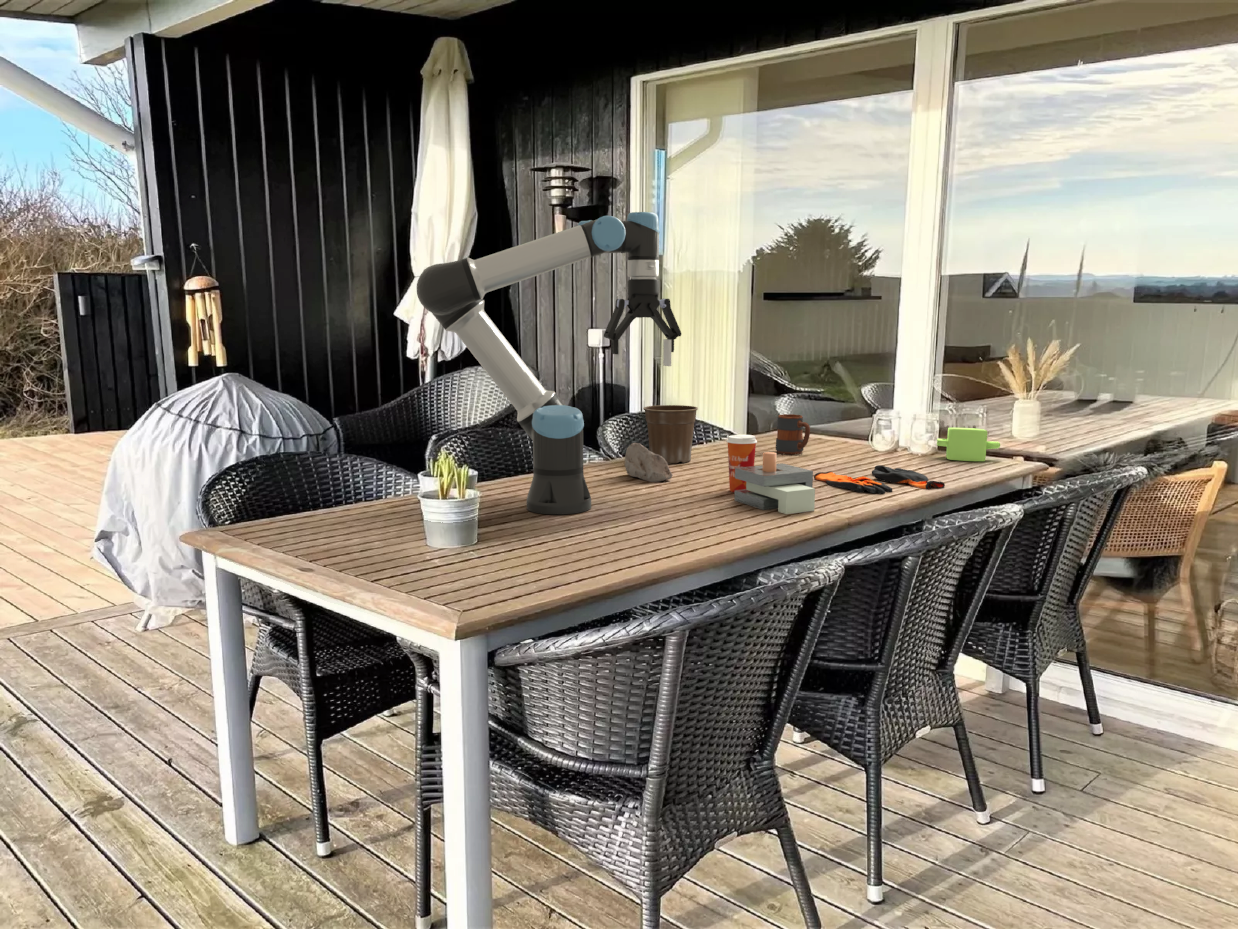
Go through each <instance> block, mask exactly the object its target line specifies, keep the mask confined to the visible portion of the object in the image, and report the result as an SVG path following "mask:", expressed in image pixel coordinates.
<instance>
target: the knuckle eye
mask: <svg viewBox="0 0 1238 929" xmlns="http://www.w3.org/2000/svg"><path fill="white" fill-rule="evenodd" d="M746 490H748V491H752V492H755V493H758V494H761V495H765V496H768V497H771V498H774V499H778V508H777V511H778V512H777V513H780V514H781V513H782V514H784V515H789V514H798V513H805V512H806V513H807V512H814V511H815V502H816V501H815V498H816V488H814V487H812V488H811V487H808V486H804V485H800V484H797V483H793V484H784V485H775V486H766V487H763V486H760V485H756V484H753V483H749V482H746Z"/></svg>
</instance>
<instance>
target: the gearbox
mask: <svg viewBox="0 0 1238 929" xmlns="http://www.w3.org/2000/svg"><path fill="white" fill-rule="evenodd" d="M936 446H938V447H946V452H945V457H946V459H947V460H949V461H950V460H951V461H960V462H961V461H962V462H963V461H964V462H986V456H987V450H993V449H994V450H995V449H1000V448H1001V443H1000V442H999V441H993V440H991V441H989V440H988V430H986V429H984V428H973V427H972V428H969V427H947V438H937V439H936Z"/></svg>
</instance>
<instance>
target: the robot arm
mask: <svg viewBox="0 0 1238 929" xmlns="http://www.w3.org/2000/svg"><path fill="white" fill-rule="evenodd" d="M602 254H627V277H628V278H629V279H628V280H627V296H628V297H627V299H624V298H617V299H616V300H615V305H614V306H615V307H614V310H613V311H612V314H611V317H610V319H609V322H608V324H607V326H606V328H605V330H604V333H603V337H604V338H605V339H609V341H611V343H610V344H611V346H610V349H611V350H610V352H611V355H614V357H613V358H614V359H613V360H614V362H613V363H614V365H613V366H614V369H623V340H620V338H621V337H622V336H623V335H624V334H625V332H626V331H627V329H628V328H629V327H630V325H631V324H632V322H633V321H634V320H635V319H636V318H637V319H643V318H651V320H653V322H654V323H655V324H656V326H657V328H659V330H660V331H661V333H662V334H663V335H664V337H665V338H663V344H662V346H663V348H662V349H663V353H662V354H663V355H662V358H663V360H662V364H663V366H664V367H672V353H674V351H675V340H676V339H677V338H678V337H681V336H682V331H681V329H680V326H679V324H678V322H677V320H676V316H675V315H674V311H673V310H672V308H671V300H670V298H662V299H659V292H660V286H659V284H660V281H659V279H657V278H658V277H659V274H660V273H659V272H660V267H659V265H660V260H659V259H660V258H659V257H660V227H659V216H658V214H657V213H655V212H652V211H650V212H649V211H635V212H629V213H628V214H627V218H626V220H620V219H619V218H618V217H616V216H612V215H603V216H600V217H599V218H597V219H595V220H592V219H589V220H581V221H579V222H578V224H577V225H576V226H573V227H570V228H567V229H563V230H561V231H557V232H555V233H551V234H549V235H546V236H543V237H540V238H537V239H533V240H531V241H527V242H525V243H523V244H522V243H521V244H519V245H515V246H513V247H510V248H506V249H504V250H501V251H497V252H495V253H492V254H489V255H485V256H483V257H479V258H476V259H472V258H470V257H465V258H462V259H458V260H454V261H450V262H444V263H436V264H433V265H430V266H428V267H427V268H425V269H424V270H423V271H422V273H420V275H419V277H418V280H417V282H416V294H417V295H416V296H417V298H418V301H419V302H420V304H421V305H422V306H423V308H424V309H425V310H427V311H428V312H429V313H431V314H432V315H433V316H434V318H435V319H436V321H438V322H439V324H440V326H441V327H442V328H443V329H444V330H445V331H446V332H452V333H454V334H456V335H457V337H458V338H459V339H460V341H462V343H463V344H464V346H466V348H467V349H468V350H469V351H470V353H471V354H472V355H473V357H474V358H475V359H476V361H478V363H479V364H480V365H481V367H482V368H483V369H484V371H485V372H486V373H487V375H488V377H490V378H491V380H492V381H493V383H494V384H495V385H496V386H497V388H499V391H501V393H502V394H503V395H504V396H505V398H506V399H507V400H508V401H509V402H510V403H511V405H512V406H513V408H514V409H515V410H516V412H517V417H516V422H518V424H519V425H520V427H521V428H522V430H524V432H525V433H526V434H527V435H528V437H529V438H530V439H531V440H532V448H533V449H532V460H533V461H532V463H533V464H532V465H533V477H532V479H531V483H530V487H529V489H528V490H529V491H528V492H527V497H526V510H527V511H529V512H531V513H536V514H543V515H569V514H570V515H572V514H573V515H574V514H577V513H579V514H580V513H583V512H587V511H589V510H591V509H592V496H591V493H590V490H589V488H588V484H587V482H586V478H585V474H584V427H585V423H584V422H585V420H584V416H583V415H584V414H583V413H582V412H583V411H581V410H580V409H579V408H577V407H573V406H570V405H567V404H565V403H564V402H563V400H562V398H560V396H559V395H558V394H557V393H556V392H555V391H554V390H547V389H546V388H545V387H544V386H543V385H542V384H541V382H540V381H539V379H538V378H537V377H536V376H535V374H534V373H533V372H532V370H530V368H529V367H528V366H527V364H526V363H525V362H524V360H523V359H522V358H521V356H520V355H519V354H518V353H517V351H516V350H515V349H514V348H513V346H512V345H511V343H510V342H509V341H508V340H507V339H506V337H505V336H504V335H503V333H502V332H501V331H500V330H499V328H498V327H497V325H496V324H495V323H494V322H493V320H492V319H491V317H489V315H488V314H487V313H486V311H485V299H484V297H485V295H486V294H487V293H489V292H492V291H495V290H498V289H501V288H504V287H507V286H510V285H513V284H516V283H519V282H522V281H525V280H528V279H531V278H534V277H536V276H540V275H543V274H545V273H548V272H552V271H554V270H557V269H559V268H563V267H566V266H568V265H573V264H575V263H578V262H580V261H581V262H582V261H584V260H588V259H590V258H594V257H596V256H597V257H598V256H599V255H602ZM626 307H627V308H628V309H629V310H628V311H627V312H626V313H625V315H624V318H623V319H622V320H621V318H622V315H623V313H624V311H625V308H626ZM659 307H660V308H661V310H662V314H663V315H664V318H665V319H663V317H662V314H661V313H660V312H659V310H658V308H659ZM620 320H621V322H620ZM665 320H666V321H665Z"/></svg>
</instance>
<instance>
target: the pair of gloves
mask: <svg viewBox="0 0 1238 929" xmlns="http://www.w3.org/2000/svg"><path fill="white" fill-rule="evenodd" d="M871 474H872V475H873V477H874V478H875V479H877V480H878V481H876V480H873V479H871V478H869V477H867V476H859V477H856V478H853V477H852V476H848V475H847V474H846V475H842V474H841V475H840V474H836V473H835V472H833V471H826V472H823V471H822V472H821V471H819V472H816V473H815V474H813V480H817V481H822V482H826V483H827V485H830V486H832V487H837V488H841V489H846V490H850V491H852V492H855V493H858V494H859V493H864V492H865V491H867V492H868V493H871V494H878V495H885V494H886V493H892V492H893V488H892V486H889V485H887V484H885V482H888V483H892V484H907V485H910V486H911V487H914V488H918V489H925V490H931V489H932V488H935V489H943V488H945V483H944V482H943V481H936V480H929V478H928V476H927V475H925V474H923V473H920V472H917V471H915V470H911V469H904V468H901V467H897V468H892V467H889V466H885V465H881V464H877V465H875V466H874V469H873V470H871Z"/></svg>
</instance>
